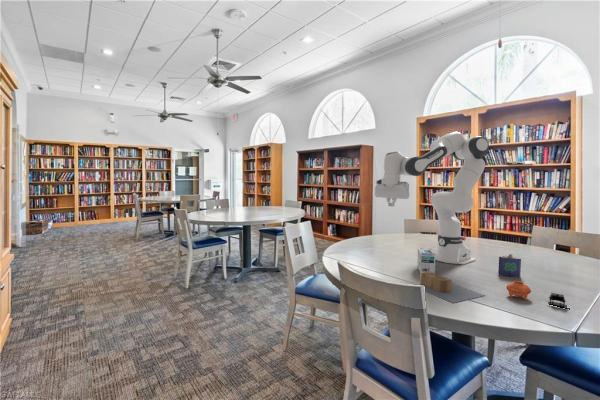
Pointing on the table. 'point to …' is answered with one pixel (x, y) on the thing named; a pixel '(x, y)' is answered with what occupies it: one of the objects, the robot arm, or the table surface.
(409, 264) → the table surface
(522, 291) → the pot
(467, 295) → the mat
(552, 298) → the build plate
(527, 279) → the table surface
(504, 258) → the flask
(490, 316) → the table surface
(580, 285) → the table surface
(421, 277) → the walnut block
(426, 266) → the light bulb box
